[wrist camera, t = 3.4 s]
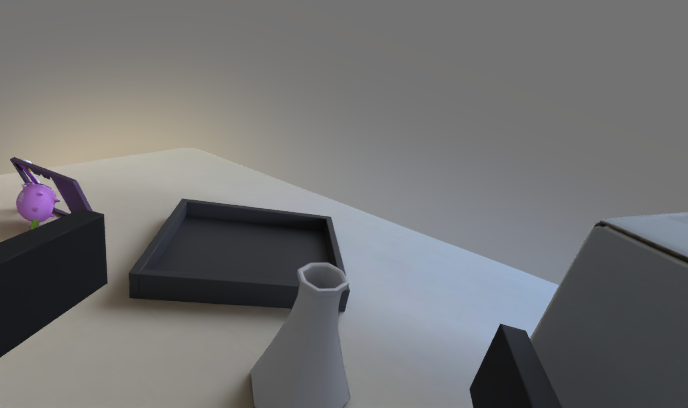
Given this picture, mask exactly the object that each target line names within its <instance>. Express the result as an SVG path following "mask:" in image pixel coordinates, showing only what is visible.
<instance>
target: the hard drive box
mask: <svg viewBox="0 0 688 408" xmlns="http://www.w3.org/2000/svg"><path fill="white" fill-rule="evenodd" d="M530 341H531V343H532V345H533V347H534V349H535V351H536V353H537V356H538V358H539V360H540V362H541V364H542V366H543V368H544V370H545V372H546V374H547V377H548V379H549V381H550V383H551V385H552V387H553V389H554V391H555V393H556V395H557V398H558V400H559V402H560V404H561V406H562V408H688V212H685V213H674V214H658V215H646V216H631V217H619V218H609V219H602V220H601V221H600V222H599V223H595V224H594V226H593V227H592V229H591V231H590V232H589V234H588V235H587V237H586V239H585V240H584V242H583V244H582V246H581V248H580V250H579V252H578V253H577V255H576V257H575V258H574V260H573V262H572V264H571V265H570V267H569V269H568V271H567V272H566V274H565V276H564V278H563V280H562V281H561V283H560V285H559V287H558V289H557V291H556V292H555V294H554V296H553V298H552V300H551V301H550V303H549V305H548V307H547V309H546V311H545V313H544V314H543V316H542V318H541V320H540V322H539V323H538V325H537V327H536V329H535V331H534V332H533V334H532V336H531V338H530Z"/></svg>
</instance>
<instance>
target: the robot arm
mask: <svg viewBox="0 0 688 408" xmlns="http://www.w3.org/2000/svg"><path fill="white" fill-rule="evenodd" d="M107 283H108V282H107V263H106V244H105V225H104V214H101V213H97V212H94V211H90V210H87V209H81V210H78V211H76V212H73V213H71V214H68V215H66V216H64V217H61V218H59V219H56V220H54V221H51V222H49V223H46V224H44V225H42V226H39V227H37V228H34V229H32V230H29V231H27V232H25V233H22V234H20V235H17V236H15V237H12V238H10V239H7V240H5V241H3V242H0V357H2V356H3V355H5V354H6V353H7V352H9V351H10V350H12V349H13V348H15V347H16V346H18V345H19V344H20V343H22V342H23V341H25V340H26V339H28V338H29V337H30V336H32V335H33V334H35V333H36V332H38V331H39V330H41V329H42V328H43V327H45V326H46V325H48V324H49V323H51V322H52V321H54V320H55V319H56V318H58V317H59V316H61V315H62V314H64V313H65V312H66V311H68V310H69V309H71V308H72V307H74V306H75V305H77V304H78V303H79V302H81V301H82V300H84V299H85V298H87V297H88V296H89V295H91V294H92V293H94V292H95V291H97V290H98V289H100V288H101V287H102V286H104V285H105V284H107ZM470 394H471V398H472V403H473V408H562V406H561V404H560V402H559V400H558V398H557V395H556V393H555V391H554V389H553V387H552V385H551V383H550V381H549V379H548V377H547V374H546V372H545V370H544V368H543V366H542V364H541V362H540V360H539V358H538V356H537V353H536V351H535V349H534V347H533V345H532V343H531V341H530V339H529V337H528V334H527V332H526V331H524V330H521V329H517V328H514V327H510V326H506V325H503V324H500V326H499V328H498V330H497V332H496V334H495V336H494V338H493V340H492V342H491V345H490V347H489V349H488V351H487V353H486V355H485V357H484V359H483V361H482V364H481V366H480V368H479V370H478V372H477V374H476V376H475V378H474V380H473V383H472V385H471V387H470Z"/></svg>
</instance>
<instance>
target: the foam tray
mask: <svg viewBox="0 0 688 408" xmlns="http://www.w3.org/2000/svg"><path fill="white" fill-rule="evenodd" d="M309 263H329V264H331V265H333V266H335V267H337V268H338V269H340V270H342V271H343V272H344V274H345V270H344V266H343V262H342V258H341V254H340V250H339V246H338V243H337V239H336V235H335V231H334V227H333V223H332V219H331V217H327V216H320V215H312V214H304V213H295V212H287V211H279V210H271V209H263V208H255V207H247V206H238V205H230V204H222V203H214V202H206V201H198V200H188V199H182V200H181V201H180V202H179V204H178V205H177V207H176V208H175V209H174V211H173V212H172V214H171V215H170V216H169V218H168V219H167V221H166V222H165V224H164V225H163V226H162V228H161V229H160V231H159V232H158V233H157V235H156V236H155V238H154V239H153V240H152V242H151V243H150V245H149V246H148V247H147V249H146V250H145V252H144V253H143V254H142V256H141V257H140V259H139V260H138V261H137V263H136V264H135V266H134V267H133V269H132V270H131V271H130V273H129V290H130V298H142V299H157V300H173V301H188V302H204V303H219V304H235V305H250V306H266V307H281V308H293V305H294V303H295V301H296V298H297V296H298V291H299V286H300V282H299V279H298V276H297V271H298V269H300V268H302V267H304V266H305V265H307V264H309ZM345 276H346V274H345ZM349 292H350V290H349V286H348V287H347V289H345V290H344V291H343V292H342V294H341V298H340V302H339V307H338V311H343V312H344V311H345V308H346V304H347V300H348V296H349Z"/></svg>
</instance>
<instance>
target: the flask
mask: <svg viewBox="0 0 688 408" xmlns="http://www.w3.org/2000/svg"><path fill="white" fill-rule="evenodd" d="M297 276H298V279H299V282H300V286H299V291H298V296H297V298H296V301H295V303H294V305H293V308H292V310H291V312H290V315H289V317H288V318H287V320H286V321H285V323H284V324H283V326H282V327H281V329H280V330H279V332H278V333H277V335H276V336H275V338H274V339H273V341H272V342H271V344H270V345H269V346H268V348H267V349H266V350H265V352H264V353H263V354H262V356H261V357H260V358H259V360H258V361H257V362H256V364H255V365H254V367H253V368H252V370H251V379H252V389H253V399H254V406H255V407H256V408H343V406H344V405H345V404H346V403H347V402H348V400H349V399H350V393H349V387H348V382H347V378H346V373H345V368H344V363H343V357H342V351H341V345H340V339H339V332H338V307H339V302H340V298H341V294H342V292H343V291H344V290H345V289H347V287H348V286H349V282H348V280H347V278H346V276H345V274H344V272H343V271H342V270H340V269H338V268H337V267H335V266H333V265H331V264H329V263H309V264H307V265H305V266H304V267H302V268H300V269H298V271H297Z"/></svg>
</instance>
